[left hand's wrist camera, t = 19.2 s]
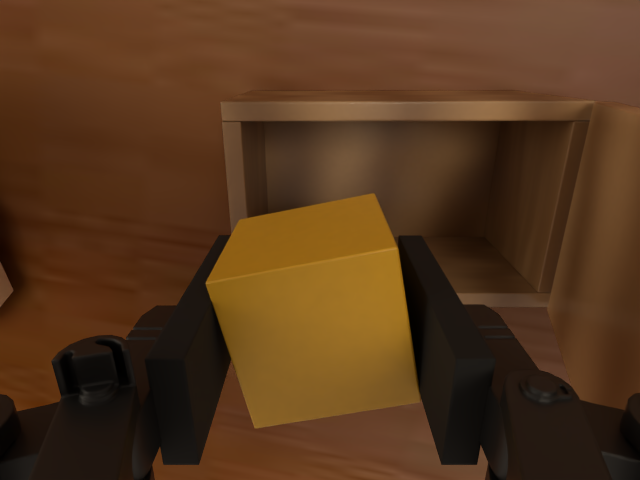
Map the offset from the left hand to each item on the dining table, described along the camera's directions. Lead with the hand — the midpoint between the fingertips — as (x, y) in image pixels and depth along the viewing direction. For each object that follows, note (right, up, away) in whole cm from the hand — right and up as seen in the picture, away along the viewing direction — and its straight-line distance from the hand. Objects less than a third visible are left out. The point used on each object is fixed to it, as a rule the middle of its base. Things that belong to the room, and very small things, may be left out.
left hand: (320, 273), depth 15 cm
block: (0, 0, 0) cm, 0 cm away
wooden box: (+4, +6, +15) cm, 17 cm away
